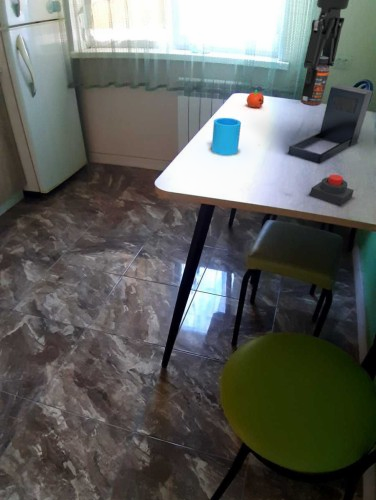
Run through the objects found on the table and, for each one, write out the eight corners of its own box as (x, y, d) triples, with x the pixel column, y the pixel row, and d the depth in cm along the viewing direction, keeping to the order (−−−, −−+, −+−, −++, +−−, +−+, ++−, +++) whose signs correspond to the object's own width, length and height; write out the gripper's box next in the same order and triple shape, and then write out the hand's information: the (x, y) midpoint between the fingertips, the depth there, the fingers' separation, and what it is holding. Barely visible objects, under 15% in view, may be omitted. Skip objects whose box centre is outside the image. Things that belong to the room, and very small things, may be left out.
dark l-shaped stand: (357, 142, 145) (372, 91, 134) (320, 163, 128) (334, 107, 117) (326, 134, 150) (338, 84, 139) (286, 153, 134) (297, 98, 123)
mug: (235, 156, 130) (238, 127, 124) (209, 153, 131) (211, 124, 125) (241, 143, 139) (244, 116, 133) (216, 140, 140) (218, 113, 134)
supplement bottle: (305, 106, 115) (315, 58, 107) (296, 100, 119) (306, 54, 112) (324, 106, 116) (336, 59, 108) (315, 100, 120) (326, 54, 113)
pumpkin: (262, 104, 175) (265, 87, 171) (262, 110, 169) (265, 92, 165) (246, 103, 176) (248, 86, 171) (245, 108, 170) (247, 91, 166)
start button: (343, 183, 109) (345, 177, 108) (337, 187, 107) (339, 181, 106) (331, 179, 111) (332, 173, 109) (325, 183, 109) (326, 177, 107)
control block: (351, 197, 111) (356, 183, 108) (340, 206, 107) (345, 191, 104) (321, 187, 115) (325, 173, 112) (309, 195, 111) (313, 180, 108)
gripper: (332, -11, 93) (308, 103, 109) (366, -12, 104) (339, 91, 120) (303, -13, 97) (283, 97, 112) (338, -15, 107) (316, 86, 123)
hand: (312, 94), depth 116 cm, fingers closed on supplement bottle, 6 cm apart
